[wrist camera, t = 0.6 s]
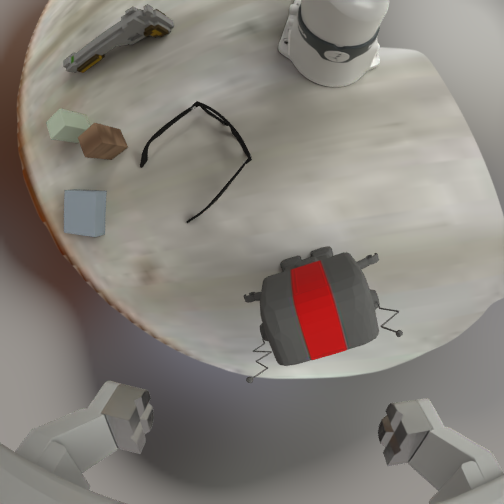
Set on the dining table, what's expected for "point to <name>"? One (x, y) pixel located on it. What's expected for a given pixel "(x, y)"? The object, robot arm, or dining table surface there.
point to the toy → (120, 36)
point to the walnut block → (102, 142)
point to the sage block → (67, 125)
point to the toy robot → (317, 307)
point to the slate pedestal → (84, 212)
